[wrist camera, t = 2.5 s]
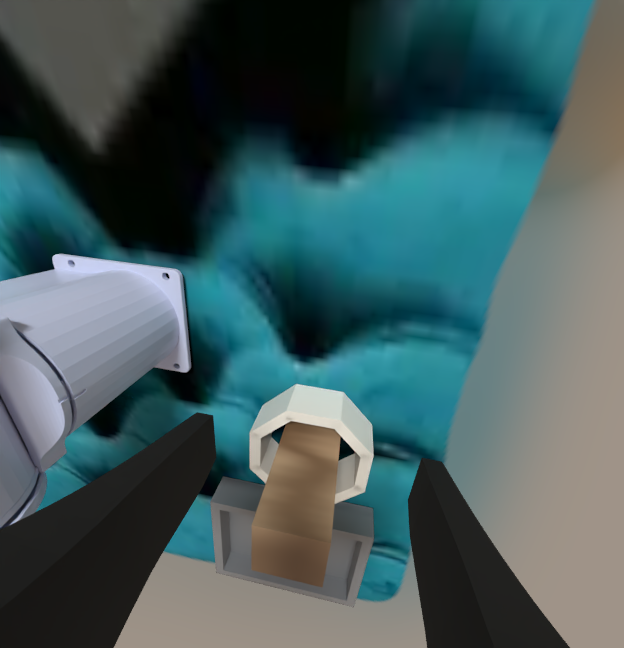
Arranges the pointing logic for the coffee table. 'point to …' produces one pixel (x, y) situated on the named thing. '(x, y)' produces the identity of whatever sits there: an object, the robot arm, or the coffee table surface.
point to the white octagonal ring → (318, 411)
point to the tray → (235, 560)
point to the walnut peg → (298, 506)
